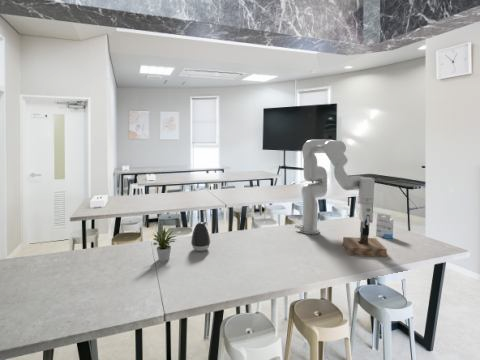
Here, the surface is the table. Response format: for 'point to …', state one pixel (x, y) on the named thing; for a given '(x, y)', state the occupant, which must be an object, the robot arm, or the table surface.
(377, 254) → the socket
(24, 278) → the table surface
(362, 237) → the peg
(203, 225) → the dark grey egg shape
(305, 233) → the robot arm
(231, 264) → the table surface
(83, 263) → the table surface
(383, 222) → the ink box
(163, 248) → the house plant
